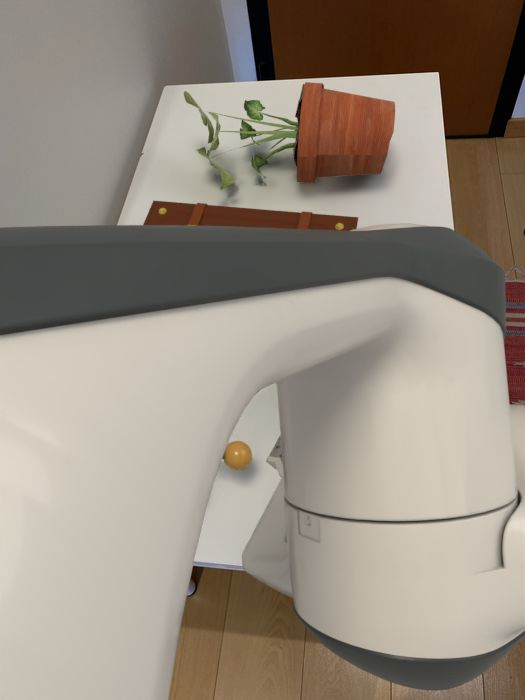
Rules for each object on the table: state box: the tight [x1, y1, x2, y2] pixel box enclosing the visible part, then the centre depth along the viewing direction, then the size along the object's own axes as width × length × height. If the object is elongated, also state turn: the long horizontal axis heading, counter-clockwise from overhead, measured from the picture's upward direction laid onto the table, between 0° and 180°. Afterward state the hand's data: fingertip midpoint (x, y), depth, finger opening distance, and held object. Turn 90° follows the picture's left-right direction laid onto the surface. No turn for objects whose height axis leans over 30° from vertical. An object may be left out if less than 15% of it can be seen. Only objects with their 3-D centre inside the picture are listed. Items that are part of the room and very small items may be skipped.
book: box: [142, 200, 359, 231], centre depth 72 cm, size 23×32×5 cm
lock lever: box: [222, 440, 253, 471], centre depth 55 cm, size 14×3×3 cm, turn 87°
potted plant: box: [183, 81, 396, 190], centre depth 79 cm, size 16×15×35 cm
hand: (278, 451), depth 45 cm, fingers closed
